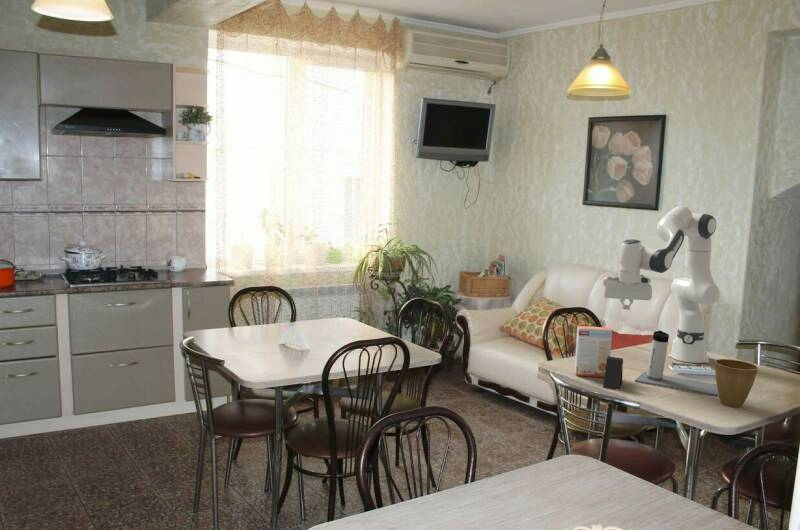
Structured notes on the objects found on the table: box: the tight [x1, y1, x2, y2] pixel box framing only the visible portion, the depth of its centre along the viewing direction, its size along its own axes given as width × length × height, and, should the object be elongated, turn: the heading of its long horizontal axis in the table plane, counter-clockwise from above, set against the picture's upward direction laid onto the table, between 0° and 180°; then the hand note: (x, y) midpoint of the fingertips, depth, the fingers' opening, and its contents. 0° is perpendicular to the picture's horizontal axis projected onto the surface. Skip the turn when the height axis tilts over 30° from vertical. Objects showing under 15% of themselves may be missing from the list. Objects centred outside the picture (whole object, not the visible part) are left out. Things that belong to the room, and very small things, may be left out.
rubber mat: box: [635, 371, 719, 397], centre depth 294 cm, size 16×32×1 cm, turn 59°
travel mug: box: [647, 330, 670, 380], centre depth 297 cm, size 6×7×20 cm
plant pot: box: [714, 358, 759, 408], centre depth 268 cm, size 15×15×16 cm
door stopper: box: [602, 355, 624, 390], centre depth 286 cm, size 9×6×12 cm, turn 152°
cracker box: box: [573, 325, 613, 378], centre depth 301 cm, size 14×6×21 cm, turn 84°
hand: (625, 309), depth 303 cm, fingers closed
